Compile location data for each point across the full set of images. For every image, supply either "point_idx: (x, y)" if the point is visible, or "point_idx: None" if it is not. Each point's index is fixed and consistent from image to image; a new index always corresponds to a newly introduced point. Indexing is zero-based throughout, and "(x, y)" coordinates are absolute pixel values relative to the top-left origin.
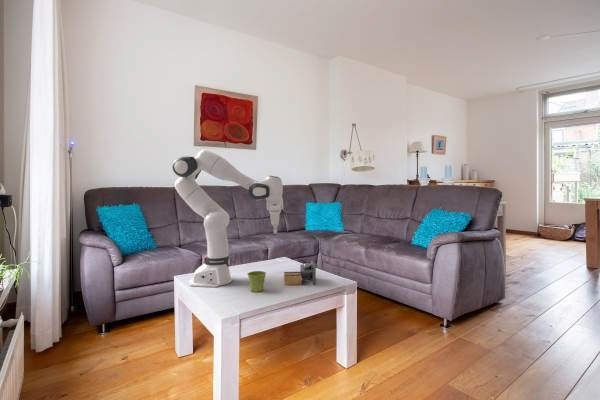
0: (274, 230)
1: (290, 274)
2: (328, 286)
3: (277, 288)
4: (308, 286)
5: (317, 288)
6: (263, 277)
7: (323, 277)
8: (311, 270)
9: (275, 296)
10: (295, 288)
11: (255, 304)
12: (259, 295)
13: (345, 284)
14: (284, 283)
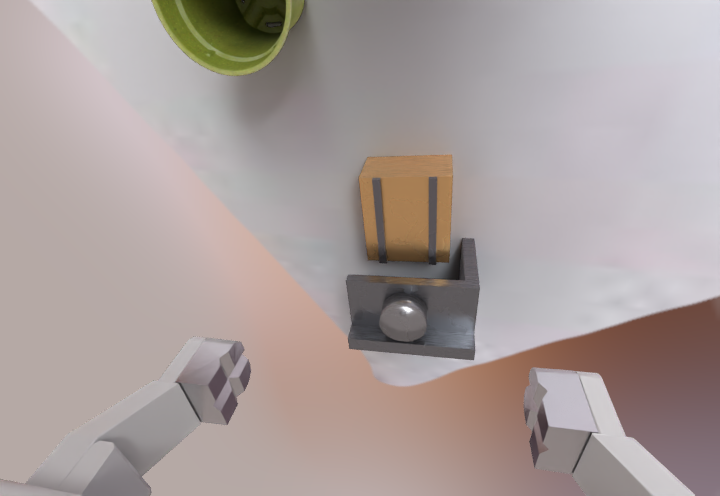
0: (170, 381)
1: (380, 212)
2: None
3: (314, 119)
4: (351, 258)
5: (329, 284)
6: (209, 54)
7: None
8: (351, 318)
9: (205, 114)
10: (321, 206)
11: (82, 17)
12: None
13: (377, 367)
14: (384, 158)
